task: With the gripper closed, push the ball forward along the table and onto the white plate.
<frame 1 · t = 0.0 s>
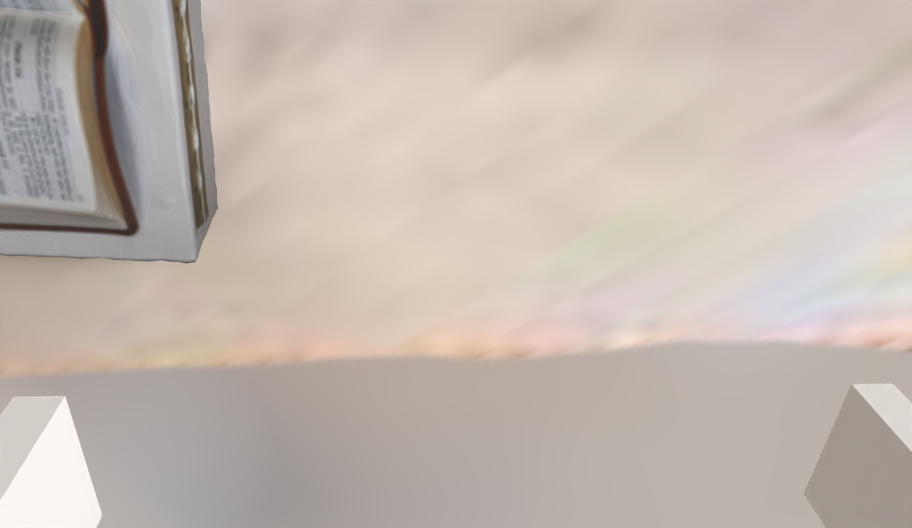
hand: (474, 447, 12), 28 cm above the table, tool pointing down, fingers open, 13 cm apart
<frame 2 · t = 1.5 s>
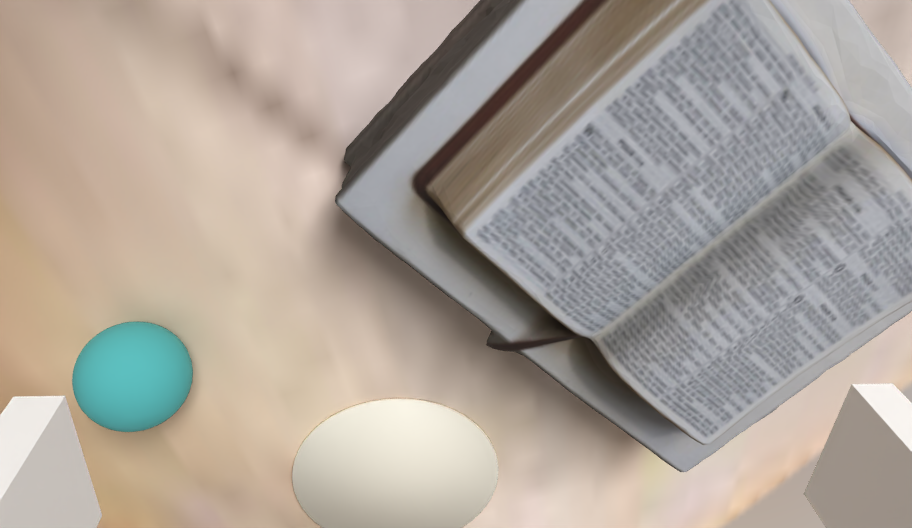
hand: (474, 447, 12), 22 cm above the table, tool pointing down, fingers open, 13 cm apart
bible: (644, 167, 35), on the table
ball: (134, 376, 34), on the table
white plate: (396, 476, 43), on the table
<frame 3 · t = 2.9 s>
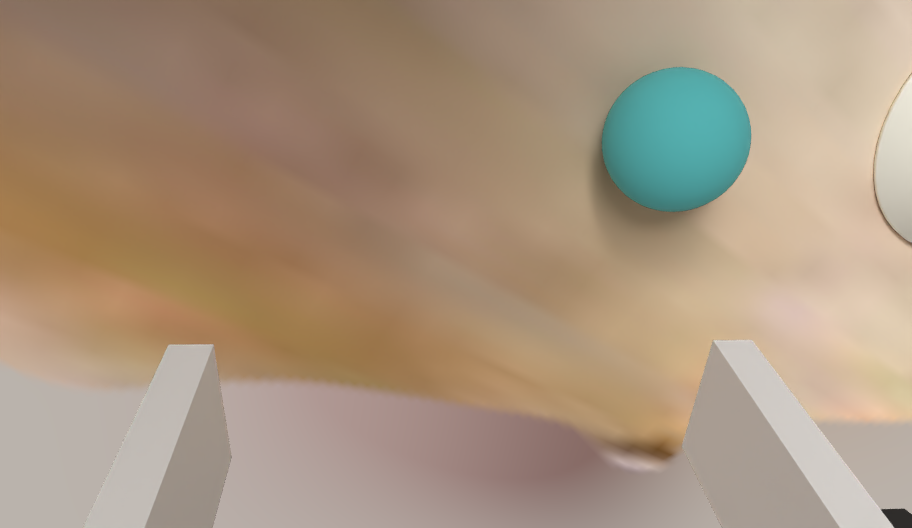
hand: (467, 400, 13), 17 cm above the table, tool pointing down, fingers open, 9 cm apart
ball: (674, 140, 26), on the table
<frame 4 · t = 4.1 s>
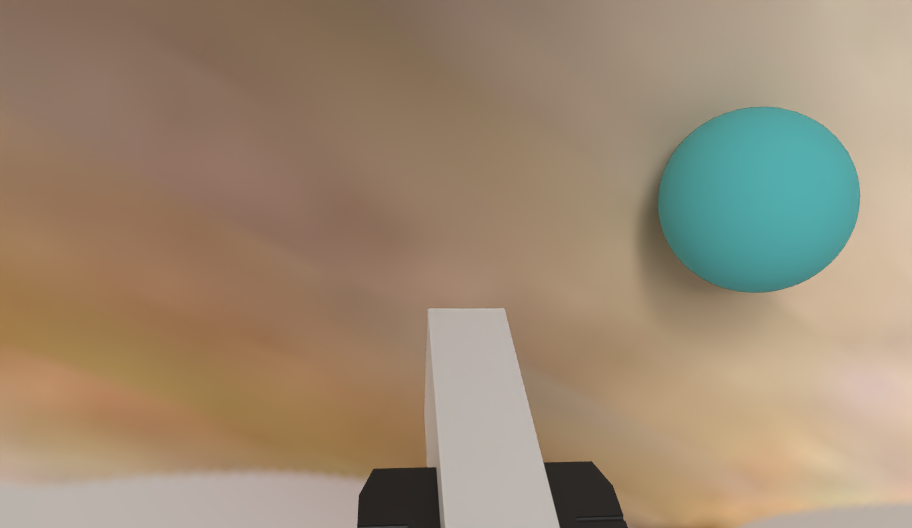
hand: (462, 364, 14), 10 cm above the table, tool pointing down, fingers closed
ball: (753, 200, 20), on the table
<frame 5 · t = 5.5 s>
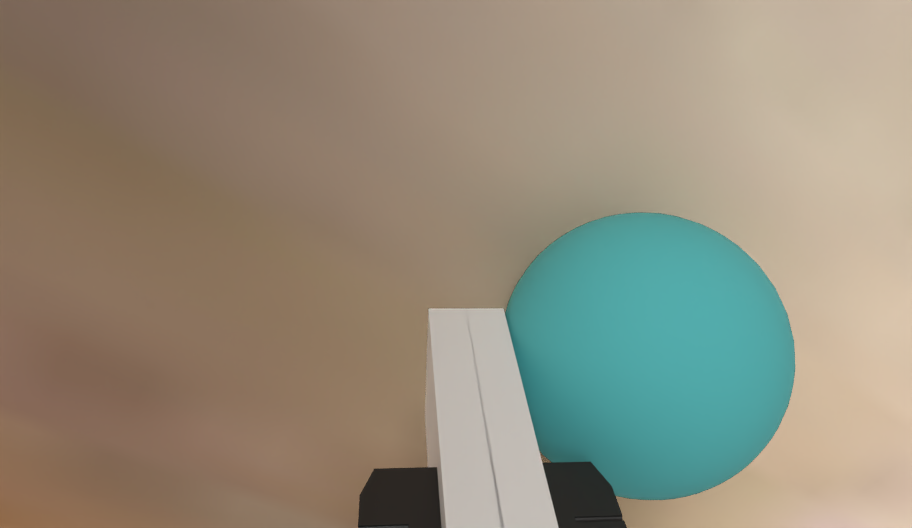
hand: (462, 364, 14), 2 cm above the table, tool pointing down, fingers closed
ball: (639, 352, 13), on the table, touching gripper
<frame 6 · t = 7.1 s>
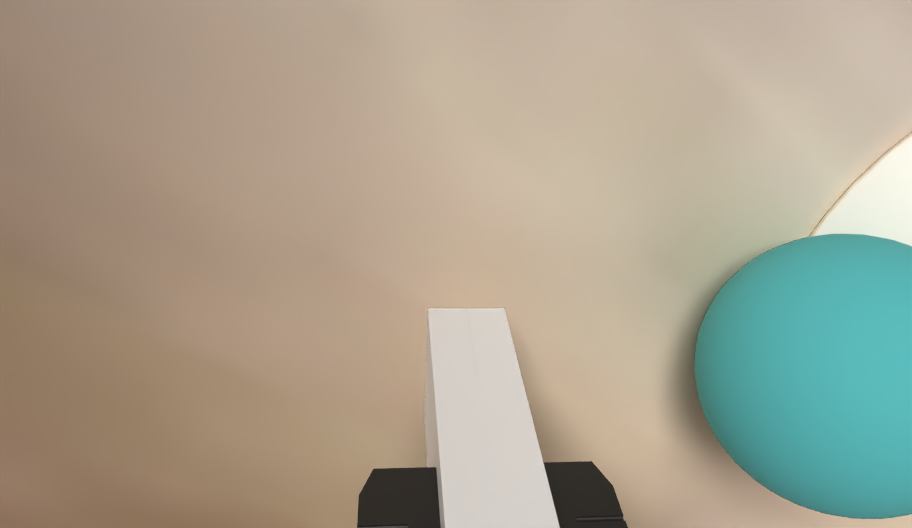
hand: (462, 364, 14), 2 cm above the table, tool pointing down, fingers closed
ball: (840, 371, 14), on the table
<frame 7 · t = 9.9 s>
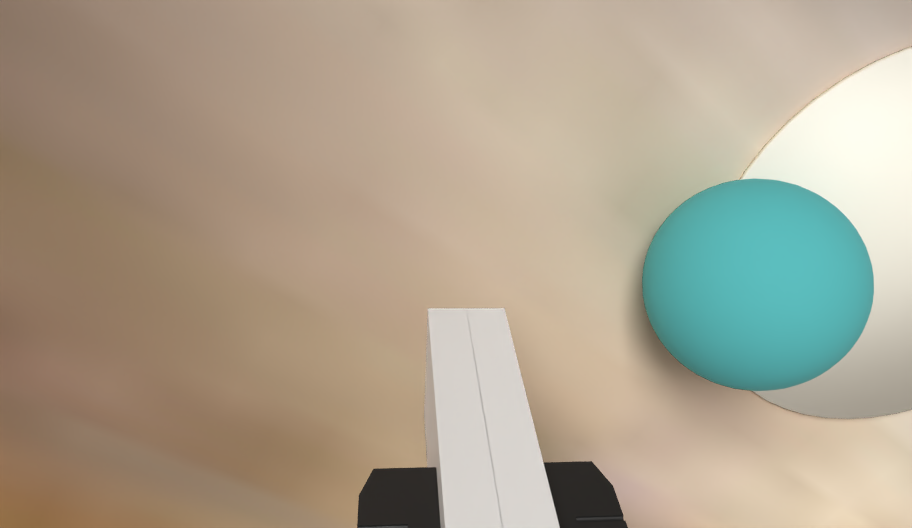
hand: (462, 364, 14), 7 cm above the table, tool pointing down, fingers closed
ball: (750, 284, 18), on the table
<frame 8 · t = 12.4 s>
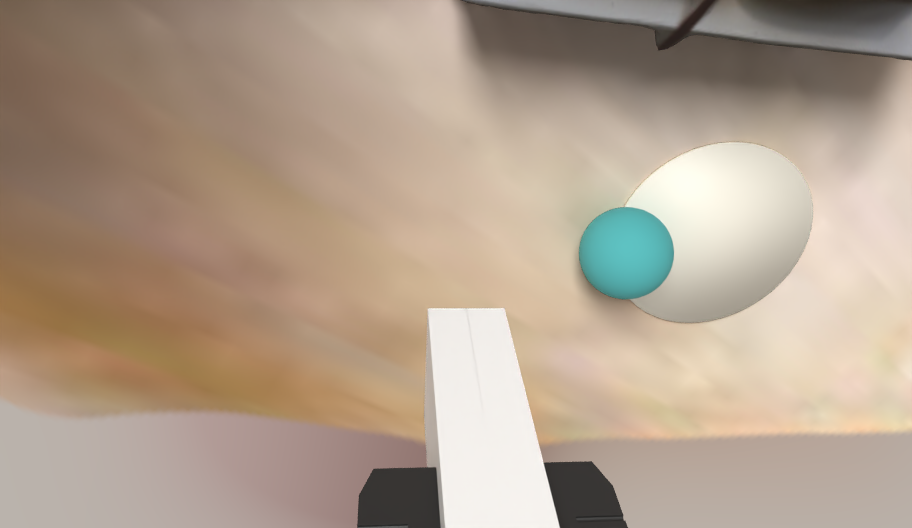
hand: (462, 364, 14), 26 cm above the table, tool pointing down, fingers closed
ball: (625, 253, 41), on the table
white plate: (710, 237, 44), on the table
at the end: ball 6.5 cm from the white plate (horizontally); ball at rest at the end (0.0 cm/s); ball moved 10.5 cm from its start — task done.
